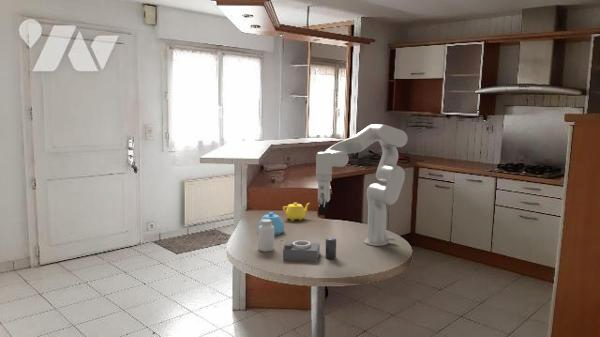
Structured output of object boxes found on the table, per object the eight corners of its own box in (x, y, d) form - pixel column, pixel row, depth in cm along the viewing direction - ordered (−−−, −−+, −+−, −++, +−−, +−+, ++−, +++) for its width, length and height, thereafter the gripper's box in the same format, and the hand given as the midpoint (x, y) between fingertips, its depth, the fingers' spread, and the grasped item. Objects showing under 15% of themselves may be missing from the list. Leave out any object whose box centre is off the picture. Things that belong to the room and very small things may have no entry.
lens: (336, 256, 223) (336, 237, 222) (335, 259, 218) (335, 240, 217) (325, 255, 224) (326, 237, 222) (325, 259, 219) (325, 240, 217)
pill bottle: (268, 252, 228) (268, 223, 226) (255, 250, 232) (254, 220, 230) (277, 248, 235) (277, 219, 232) (264, 246, 239) (264, 217, 237)
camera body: (319, 253, 228) (319, 240, 227) (316, 261, 216) (316, 247, 215) (287, 251, 230) (287, 238, 229) (282, 259, 218) (282, 245, 217)
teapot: (307, 216, 302) (307, 200, 301) (312, 220, 292) (312, 203, 290) (280, 218, 298) (280, 201, 296) (284, 222, 287) (284, 205, 286)
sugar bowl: (268, 237, 254) (268, 217, 252) (252, 232, 265) (252, 212, 263) (289, 233, 264) (289, 213, 262) (273, 227, 275) (273, 208, 273)
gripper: (329, 180, 212) (328, 217, 214) (333, 175, 229) (332, 209, 231) (313, 180, 213) (312, 216, 215) (318, 174, 230) (317, 208, 232)
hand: (323, 212), depth 223 cm, fingers open, 9 cm apart
